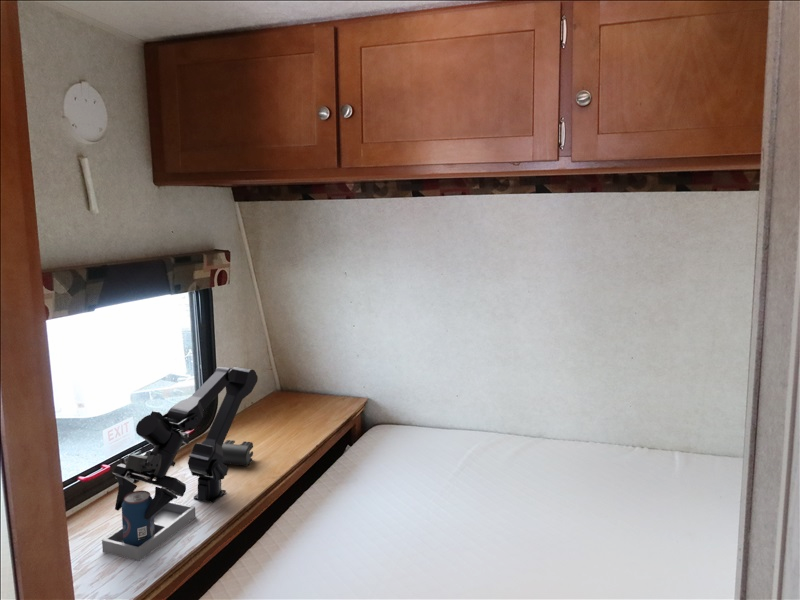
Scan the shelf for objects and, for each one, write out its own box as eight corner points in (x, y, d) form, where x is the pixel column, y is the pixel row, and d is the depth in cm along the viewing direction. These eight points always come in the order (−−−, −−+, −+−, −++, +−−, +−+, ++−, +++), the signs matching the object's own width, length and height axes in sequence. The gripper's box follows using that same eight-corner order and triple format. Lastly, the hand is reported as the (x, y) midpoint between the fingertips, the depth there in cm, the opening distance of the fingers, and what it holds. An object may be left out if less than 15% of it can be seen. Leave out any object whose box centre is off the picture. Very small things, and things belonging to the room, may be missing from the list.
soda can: (120, 539, 142) (118, 494, 140) (150, 531, 146) (148, 486, 144) (127, 554, 136) (124, 506, 134) (158, 544, 140) (156, 498, 138)
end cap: (215, 467, 182) (214, 447, 181) (224, 457, 189) (224, 437, 188) (246, 470, 181) (245, 449, 180) (254, 460, 188) (254, 440, 187)
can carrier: (162, 509, 157) (161, 499, 156) (195, 517, 154) (195, 506, 153) (102, 551, 138) (102, 540, 137) (139, 561, 135) (138, 549, 134)
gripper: (116, 432, 144) (80, 494, 136) (175, 447, 137) (141, 512, 129) (143, 450, 152) (109, 509, 144) (200, 464, 145) (168, 527, 137)
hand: (131, 514), depth 138 cm, fingers open, 9 cm apart
